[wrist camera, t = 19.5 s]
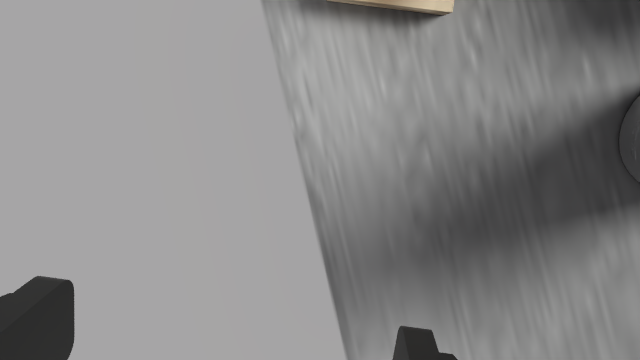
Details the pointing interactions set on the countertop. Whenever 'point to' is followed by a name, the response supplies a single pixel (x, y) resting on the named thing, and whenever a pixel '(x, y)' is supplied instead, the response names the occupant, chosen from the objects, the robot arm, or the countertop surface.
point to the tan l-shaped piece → (408, 5)
